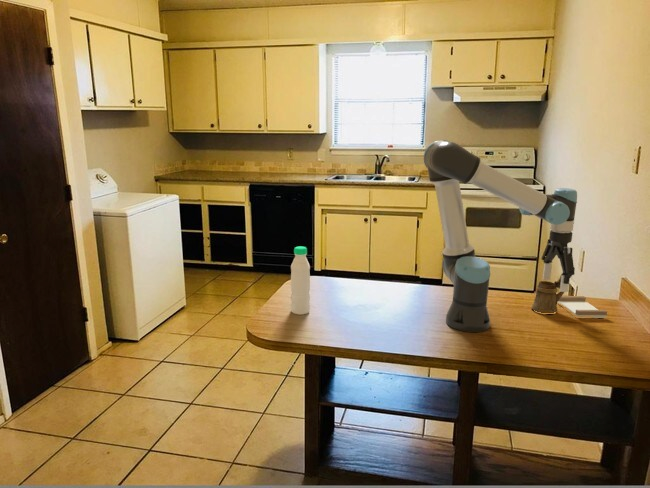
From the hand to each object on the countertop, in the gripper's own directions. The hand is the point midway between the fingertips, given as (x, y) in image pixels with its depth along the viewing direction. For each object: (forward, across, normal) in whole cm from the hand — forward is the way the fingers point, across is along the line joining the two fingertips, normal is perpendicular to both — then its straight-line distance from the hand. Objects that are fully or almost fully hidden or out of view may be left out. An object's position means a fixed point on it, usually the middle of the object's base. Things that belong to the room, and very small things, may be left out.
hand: (554, 285), depth 187 cm
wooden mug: (+11, 0, +1) cm, 11 cm away
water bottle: (+9, -1, +97) cm, 97 cm away
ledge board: (+11, 0, -11) cm, 16 cm away
